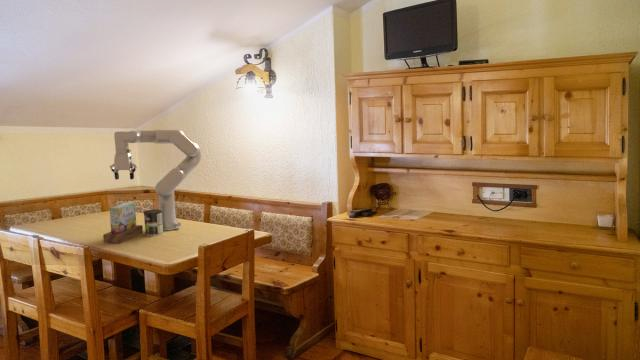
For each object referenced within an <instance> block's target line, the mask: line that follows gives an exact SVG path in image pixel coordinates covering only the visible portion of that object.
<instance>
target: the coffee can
mask: <svg viewBox="0 0 640 360" xmlns="http://www.w3.org/2000/svg"><path fill="white" fill-rule="evenodd" d="M143 216H144V217H143V218H144V233H145V234H144V235H145V236H149V237H150V236H151V237H155V236H160V235H162V234H164V230H163V226H162V210H159V209H148V210H144V211H143Z"/></svg>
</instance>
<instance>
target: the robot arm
mask: <svg viewBox="0 0 640 360" xmlns="http://www.w3.org/2000/svg"><path fill="white" fill-rule="evenodd" d="M113 134H114V137H113V138H114V146H115V147H114V148H115V154H114V159H113V160H114V162H113V163H112V164H111V165H110V166H109V169H110V170H111V172H113V174H114V180H115V181H116V180H120V176H119V171H129V179H130V180H134V179H135V172H136V171H137V168H138V165H137V164H135V163H134V162H133V158H132V155H131V153H130V152H132V149H130V147H129V146H130V145H129V144H136V143H137V144H139V143H153V144H157V145H158V144H161V145H163V144H164V145H167V144H170V145H171V144H173V145H174V146H175V147H176V148H177V149H178V150H179V151H181V152H182V153H183V154H184V155H185V156H186V157H184V159H183V160H182V161H181V162H180V163H179V164H178V165H176V166H175V167H174V168H172V169H171V170H169V172H167V174H166V175H165V176H163V178H162V179H160V180H159V181H158V182H157V183H156V185H155V189H154V190H155V193H156V194H157V195H158V210H162V226H163V231H173V230H177V229H178V228H180V227H182V225H183V224H182V222H178V220H176V219H177V218H176V202H175V189H176V188H177V187H179V186H180V184H181V183H183V181H185V179H186V178H187V177H188V175H189V174H190V173H192V172H193V170H194V169H195V168H196V167H197V166H198V165H199V163H200V161H201V158H202V151H201V148H200V146H199V145H198V143H196V142H194V141H191V140H190V139H189V138H188V137H187V136H186V134H185V132H183V131H182V130H180V129H155V130H154V129H153V130H129V131H123V130H122V131H115V132H114V133H113Z"/></svg>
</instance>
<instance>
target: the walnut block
mask: <svg viewBox="0 0 640 360" xmlns="http://www.w3.org/2000/svg"><path fill="white" fill-rule="evenodd" d="M143 227H144V226H143V225H142V224H138V225H137V224H136V226H134V227H132V228H130V229H128V230H126V231H124V232H122V233H120V234H111V231H108V232H106V233H104V234H103V235H102V239H103V244H110V245H111V244H113V245H114V244H115V245H116V244H119V245H121V244H123V243H124V242H127V241H129V240H132V239H133V238H135V237H138V236H141V235H143V234H144V231H143V230H144V229H143Z"/></svg>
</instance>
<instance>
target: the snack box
mask: <svg viewBox="0 0 640 360" xmlns="http://www.w3.org/2000/svg"><path fill="white" fill-rule="evenodd" d="M136 213H137V212H136V201H126V202H124V203H120V204H117V205H115V206H112V207H109V218H110V221H109V222H110V232H111V234H120V233H122V232H124V231H126V230H128V229H130V228H132V227H134V226H136V225H137V217H136V216H137V214H136Z"/></svg>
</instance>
